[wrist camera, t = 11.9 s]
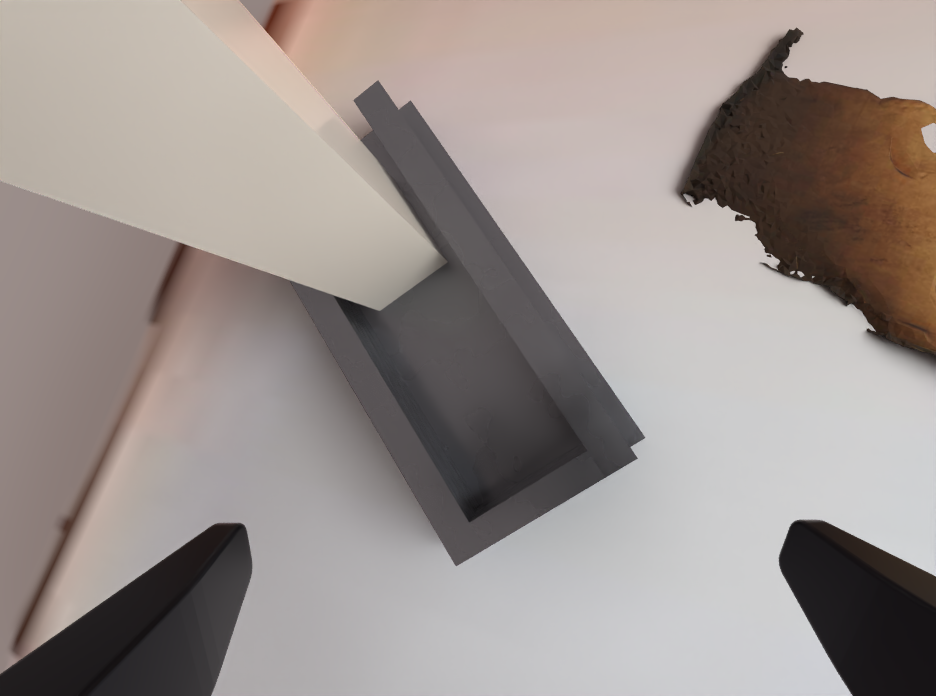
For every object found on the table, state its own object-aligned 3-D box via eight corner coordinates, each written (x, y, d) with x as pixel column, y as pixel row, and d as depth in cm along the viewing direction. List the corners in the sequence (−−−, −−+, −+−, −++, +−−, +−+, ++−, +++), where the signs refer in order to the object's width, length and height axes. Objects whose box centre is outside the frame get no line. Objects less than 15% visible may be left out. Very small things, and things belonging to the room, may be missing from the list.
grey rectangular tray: (640, 434, 17) (657, 446, 14) (459, 543, 18) (439, 576, 15) (418, 114, 20) (392, 68, 17) (273, 227, 21) (226, 203, 18)
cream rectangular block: (448, 262, 18) (68, -109, 4) (379, 311, 18) (-160, 126, 5) (391, 176, 19) (-89, -377, 5) (327, 226, 19) (-272, -150, 5)
